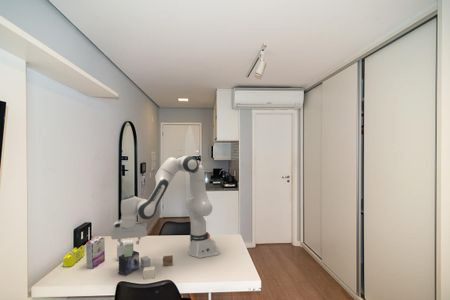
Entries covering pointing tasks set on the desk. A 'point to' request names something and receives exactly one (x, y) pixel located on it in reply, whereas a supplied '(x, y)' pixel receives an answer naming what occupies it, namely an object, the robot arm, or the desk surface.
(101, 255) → the candy bar box
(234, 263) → the desk surface
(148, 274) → the cream brick
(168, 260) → the walnut brick
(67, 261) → the yellow toy chassis
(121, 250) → the photo printer
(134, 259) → the small box
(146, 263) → the grey brick
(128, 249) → the sage brick
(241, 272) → the desk surface
